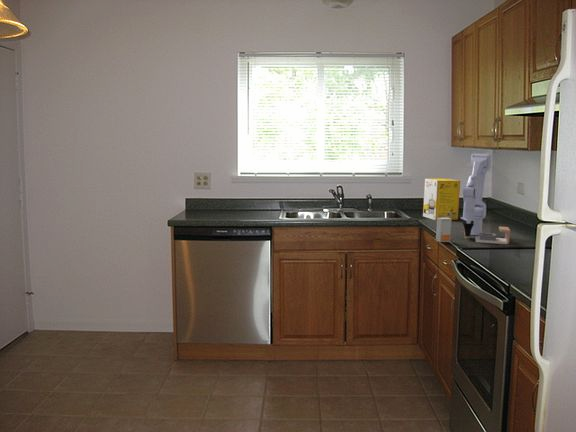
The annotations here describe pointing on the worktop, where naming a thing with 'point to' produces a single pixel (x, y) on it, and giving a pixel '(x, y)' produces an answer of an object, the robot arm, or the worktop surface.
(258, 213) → the worktop surface
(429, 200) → the packaging box
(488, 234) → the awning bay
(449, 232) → the skincare box
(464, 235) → the peg
